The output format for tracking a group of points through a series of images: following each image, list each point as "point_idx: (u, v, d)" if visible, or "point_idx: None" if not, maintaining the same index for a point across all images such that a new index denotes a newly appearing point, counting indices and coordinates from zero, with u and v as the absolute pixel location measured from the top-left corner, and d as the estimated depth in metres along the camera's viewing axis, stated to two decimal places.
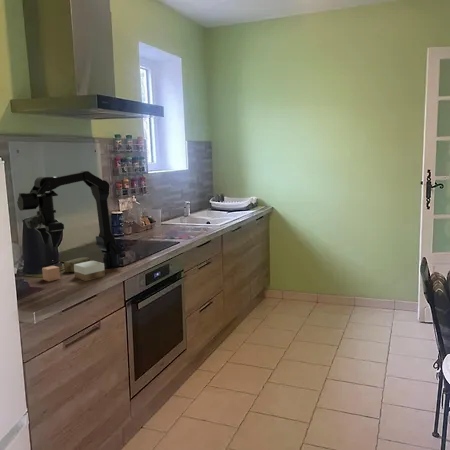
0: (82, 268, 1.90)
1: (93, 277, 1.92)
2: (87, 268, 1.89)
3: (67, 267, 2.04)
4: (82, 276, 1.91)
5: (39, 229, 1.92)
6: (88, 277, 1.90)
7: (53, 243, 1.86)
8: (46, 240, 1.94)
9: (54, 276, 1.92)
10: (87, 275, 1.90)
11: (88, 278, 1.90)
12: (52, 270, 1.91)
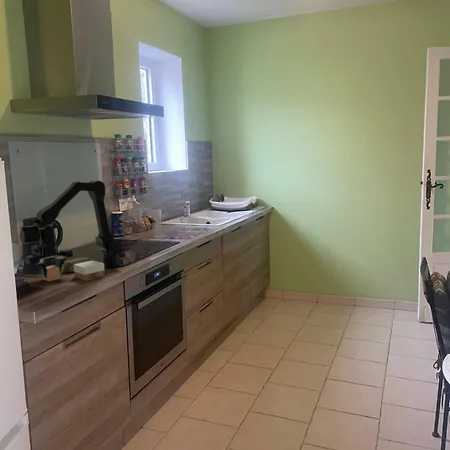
0: (82, 268, 1.90)
1: (93, 277, 1.92)
2: (87, 268, 1.89)
3: (65, 267, 2.04)
4: (82, 276, 1.91)
5: (55, 259, 1.96)
6: (88, 277, 1.90)
7: (43, 274, 1.92)
8: None
9: (54, 275, 1.92)
10: (87, 275, 1.90)
11: (88, 278, 1.90)
12: (52, 270, 1.91)
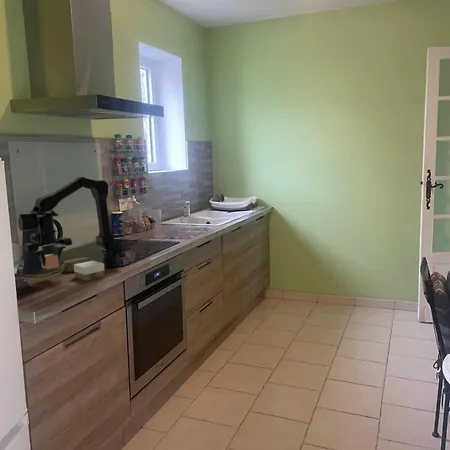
0: (82, 268, 1.90)
1: (93, 277, 1.92)
2: (87, 268, 1.90)
3: (64, 267, 2.05)
4: (82, 276, 1.91)
5: (54, 247, 1.95)
6: (88, 277, 1.90)
7: (41, 262, 1.91)
8: None
9: (52, 264, 1.91)
10: (87, 275, 1.90)
11: (88, 278, 1.90)
12: (51, 258, 1.91)
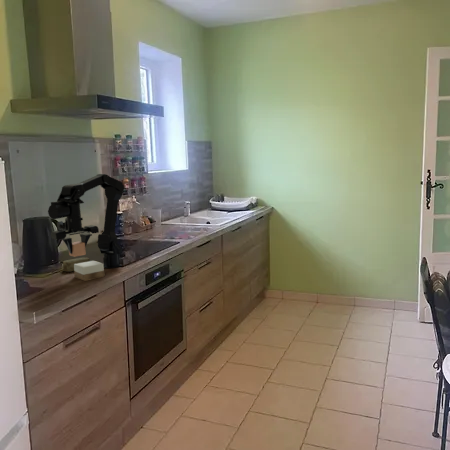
0: (81, 268, 1.90)
1: (93, 277, 1.92)
2: (86, 268, 1.89)
3: (64, 266, 2.05)
4: (82, 276, 1.91)
5: (80, 235, 1.96)
6: (88, 277, 1.90)
7: (68, 249, 1.91)
8: None
9: (79, 251, 1.92)
10: (87, 275, 1.90)
11: (88, 278, 1.90)
12: (78, 245, 1.91)
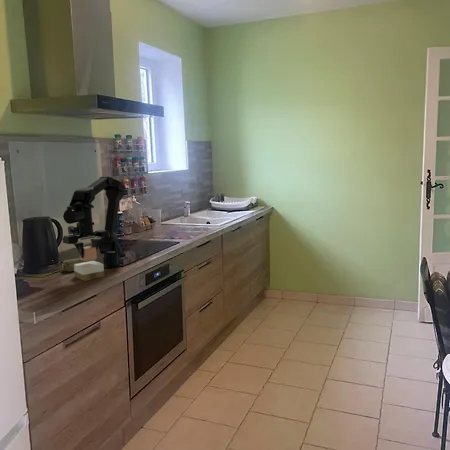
0: (81, 268, 1.90)
1: (93, 277, 1.92)
2: (85, 268, 1.89)
3: (63, 266, 2.06)
4: (81, 276, 1.91)
5: (91, 240, 1.97)
6: (88, 277, 1.90)
7: (80, 254, 1.92)
8: None
9: (91, 256, 1.92)
10: (87, 275, 1.90)
11: (88, 278, 1.90)
12: (89, 250, 1.92)
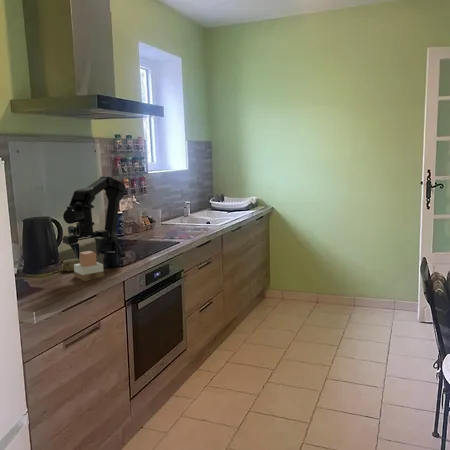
0: (80, 269, 1.90)
1: (93, 278, 1.92)
2: (85, 269, 1.89)
3: (63, 266, 2.06)
4: (81, 276, 1.91)
5: (95, 239, 1.98)
6: (88, 278, 1.90)
7: None
8: (97, 251, 1.97)
9: (90, 261, 1.92)
10: (87, 275, 1.90)
11: (88, 278, 1.90)
12: (89, 255, 1.92)
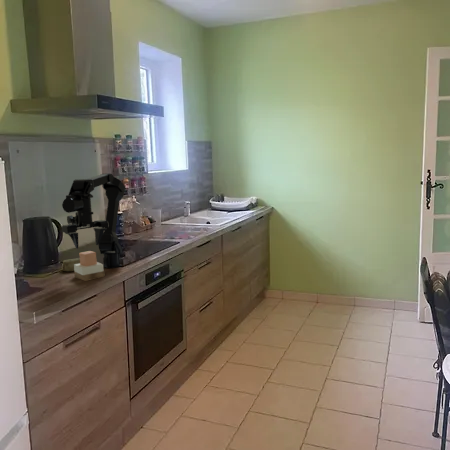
0: (80, 269, 1.90)
1: (93, 277, 1.92)
2: (85, 269, 1.89)
3: (63, 266, 2.06)
4: (82, 276, 1.91)
5: (94, 229, 1.97)
6: (88, 277, 1.90)
7: (74, 244, 1.90)
8: (96, 241, 1.96)
9: (90, 261, 1.92)
10: (87, 275, 1.90)
11: (88, 278, 1.90)
12: (89, 255, 1.92)
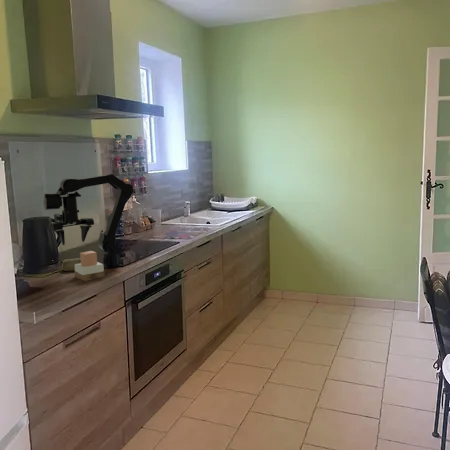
0: (80, 269, 1.90)
1: (93, 277, 1.92)
2: (85, 269, 1.89)
3: None
4: (82, 276, 1.90)
5: (80, 226, 2.06)
6: (88, 277, 1.90)
7: (61, 241, 1.98)
8: (82, 238, 2.04)
9: (91, 261, 1.93)
10: (87, 275, 1.89)
11: (88, 278, 1.90)
12: (89, 255, 1.92)
